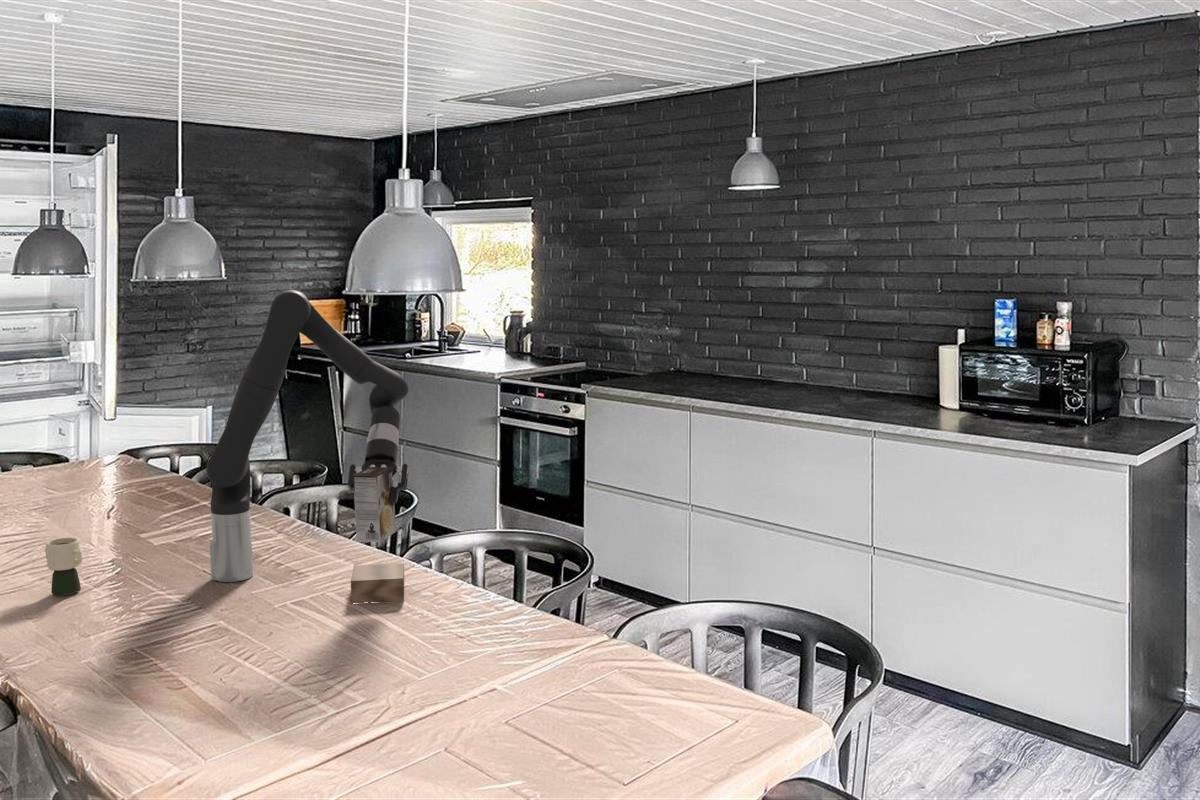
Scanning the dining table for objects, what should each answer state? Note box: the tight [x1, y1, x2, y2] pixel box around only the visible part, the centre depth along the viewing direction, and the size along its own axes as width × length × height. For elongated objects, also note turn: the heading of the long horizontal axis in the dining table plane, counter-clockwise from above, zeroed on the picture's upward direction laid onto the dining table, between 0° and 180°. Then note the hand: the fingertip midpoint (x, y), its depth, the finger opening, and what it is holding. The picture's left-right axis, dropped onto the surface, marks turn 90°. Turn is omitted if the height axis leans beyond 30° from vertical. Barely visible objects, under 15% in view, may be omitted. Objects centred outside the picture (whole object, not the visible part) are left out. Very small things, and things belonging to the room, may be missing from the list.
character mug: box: [44, 536, 83, 596], centre depth 249 cm, size 11×7×13 cm, turn 70°
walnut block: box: [350, 562, 405, 605], centre depth 249 cm, size 12×12×6 cm
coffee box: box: [353, 467, 397, 543], centre depth 246 cm, size 9×6×16 cm
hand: (375, 504), depth 245 cm, fingers closed on coffee box, 7 cm apart
